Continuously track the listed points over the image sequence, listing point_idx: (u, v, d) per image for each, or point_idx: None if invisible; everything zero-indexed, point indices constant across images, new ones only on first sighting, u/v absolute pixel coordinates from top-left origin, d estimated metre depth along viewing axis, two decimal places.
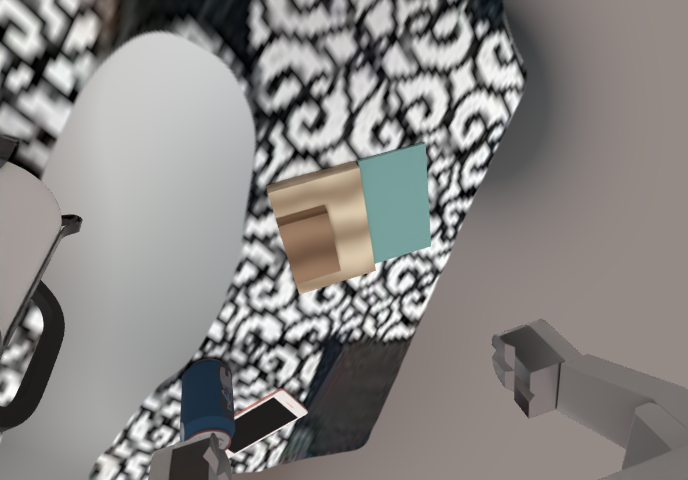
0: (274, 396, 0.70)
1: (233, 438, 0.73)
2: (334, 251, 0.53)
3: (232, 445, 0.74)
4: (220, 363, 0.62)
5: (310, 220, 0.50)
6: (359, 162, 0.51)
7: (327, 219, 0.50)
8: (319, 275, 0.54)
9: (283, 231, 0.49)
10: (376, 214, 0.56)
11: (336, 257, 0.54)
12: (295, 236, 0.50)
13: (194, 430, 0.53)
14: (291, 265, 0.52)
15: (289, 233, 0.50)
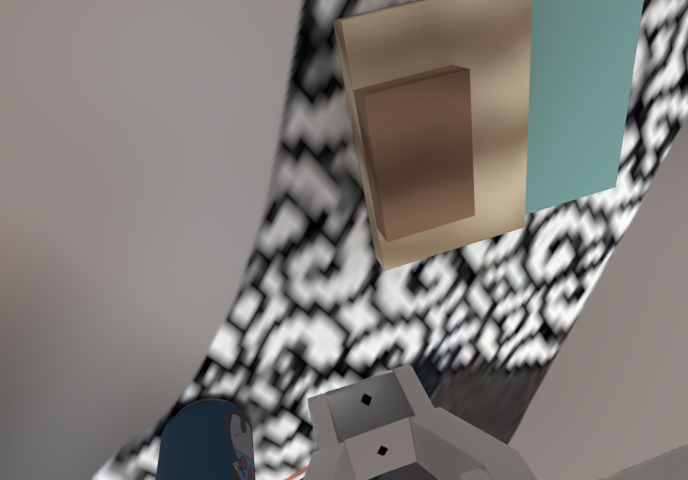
0: None
1: None
2: (469, 169, 0.26)
3: None
4: (232, 407, 0.34)
5: (432, 86, 0.23)
6: None
7: (466, 87, 0.23)
8: (433, 224, 0.27)
9: (373, 108, 0.22)
10: (535, 108, 0.29)
11: (471, 184, 0.26)
12: (397, 124, 0.23)
13: None
14: (382, 196, 0.25)
15: (385, 116, 0.23)
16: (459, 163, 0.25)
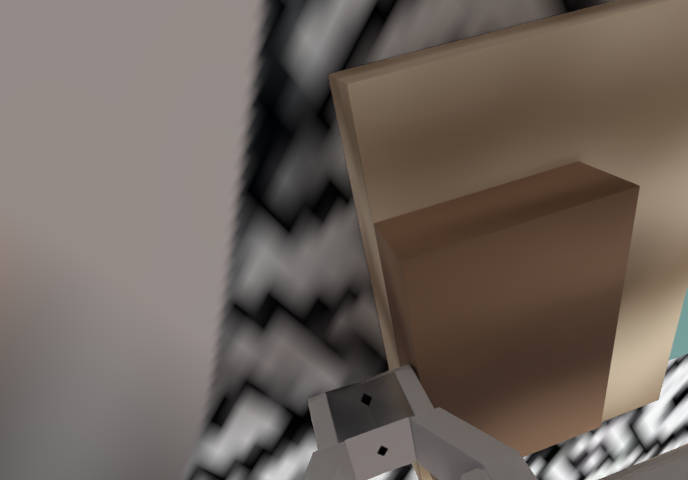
0: None
1: None
2: (603, 361, 0.13)
3: None
4: None
5: (556, 227, 0.10)
6: None
7: (625, 221, 0.10)
8: (525, 450, 0.14)
9: (423, 282, 0.10)
10: None
11: (602, 382, 0.13)
12: (474, 306, 0.10)
13: None
14: None
15: (449, 294, 0.10)
16: (587, 354, 0.12)
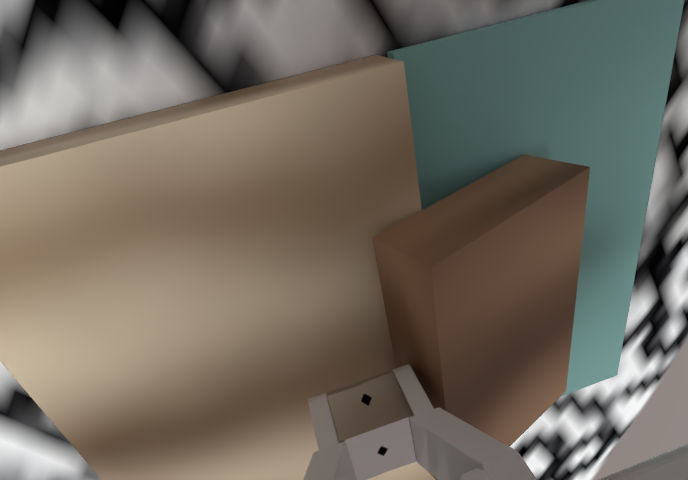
0: None
1: None
2: (568, 329, 0.14)
3: None
4: None
5: (540, 211, 0.11)
6: (399, 56, 0.11)
7: (582, 199, 0.12)
8: (518, 432, 0.15)
9: (447, 285, 0.09)
10: None
11: (567, 349, 0.15)
12: (485, 300, 0.11)
13: None
14: None
15: (466, 294, 0.10)
16: (559, 326, 0.14)
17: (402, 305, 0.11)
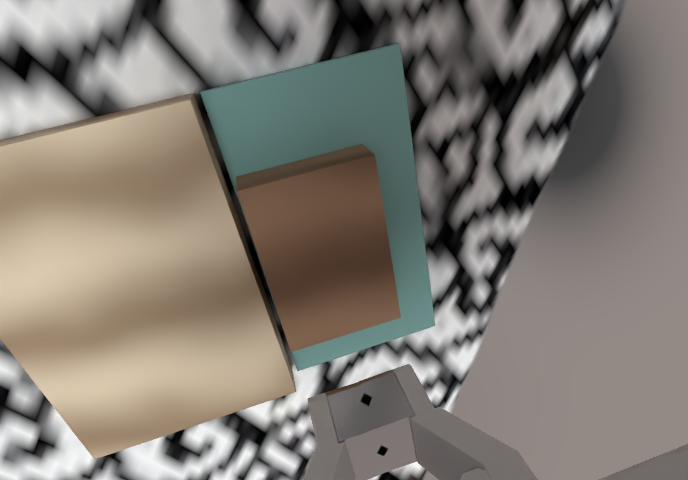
0: None
1: None
2: (387, 267, 0.21)
3: None
4: None
5: (328, 176, 0.18)
6: (205, 94, 0.17)
7: (372, 175, 0.19)
8: (348, 329, 0.22)
9: (252, 204, 0.18)
10: None
11: (391, 283, 0.21)
12: (287, 221, 0.19)
13: None
14: (277, 303, 0.20)
15: (270, 213, 0.18)
16: (374, 261, 0.21)
17: None
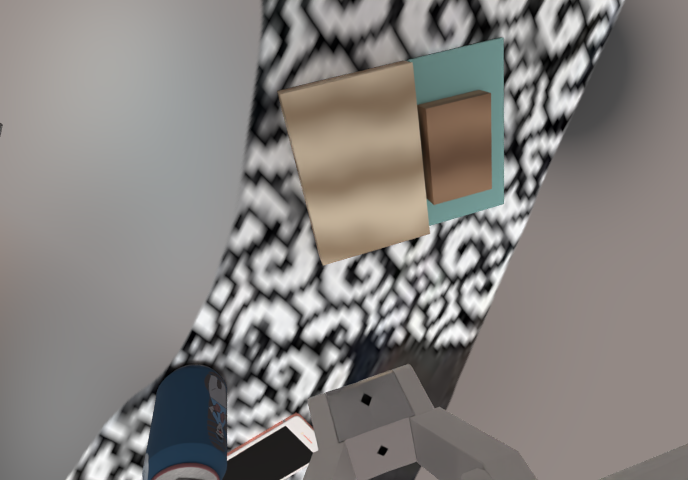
0: (286, 424, 0.51)
1: None
2: (488, 157, 0.39)
3: None
4: (211, 370, 0.44)
5: (468, 103, 0.36)
6: (411, 61, 0.36)
7: (488, 104, 0.37)
8: (464, 193, 0.40)
9: (431, 116, 0.36)
10: None
11: (489, 167, 0.40)
12: (445, 127, 0.37)
13: (162, 465, 0.34)
14: (432, 173, 0.39)
15: (438, 121, 0.36)
16: (482, 152, 0.39)
17: (422, 126, 0.38)
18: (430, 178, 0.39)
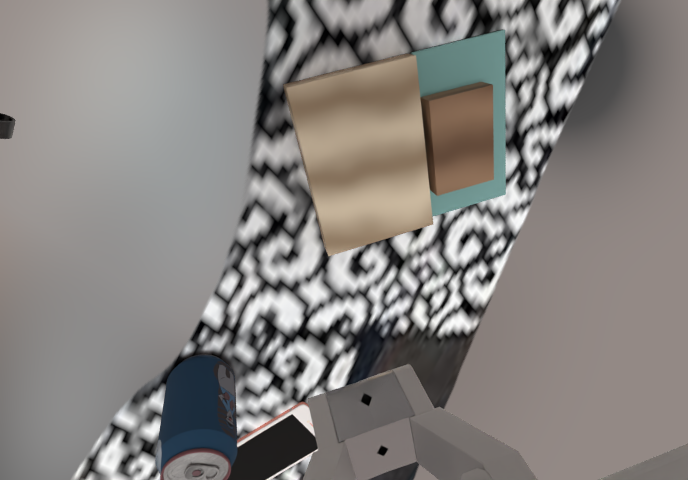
0: (293, 412, 0.52)
1: (238, 473, 0.55)
2: (490, 148, 0.40)
3: None
4: (219, 360, 0.45)
5: (470, 95, 0.37)
6: (414, 54, 0.36)
7: (490, 95, 0.38)
8: (467, 184, 0.41)
9: (434, 108, 0.37)
10: None
11: (491, 158, 0.40)
12: (448, 118, 0.38)
13: (175, 451, 0.35)
14: (436, 164, 0.39)
15: (441, 113, 0.37)
16: (484, 144, 0.40)
17: (425, 118, 0.38)
18: (433, 169, 0.40)
